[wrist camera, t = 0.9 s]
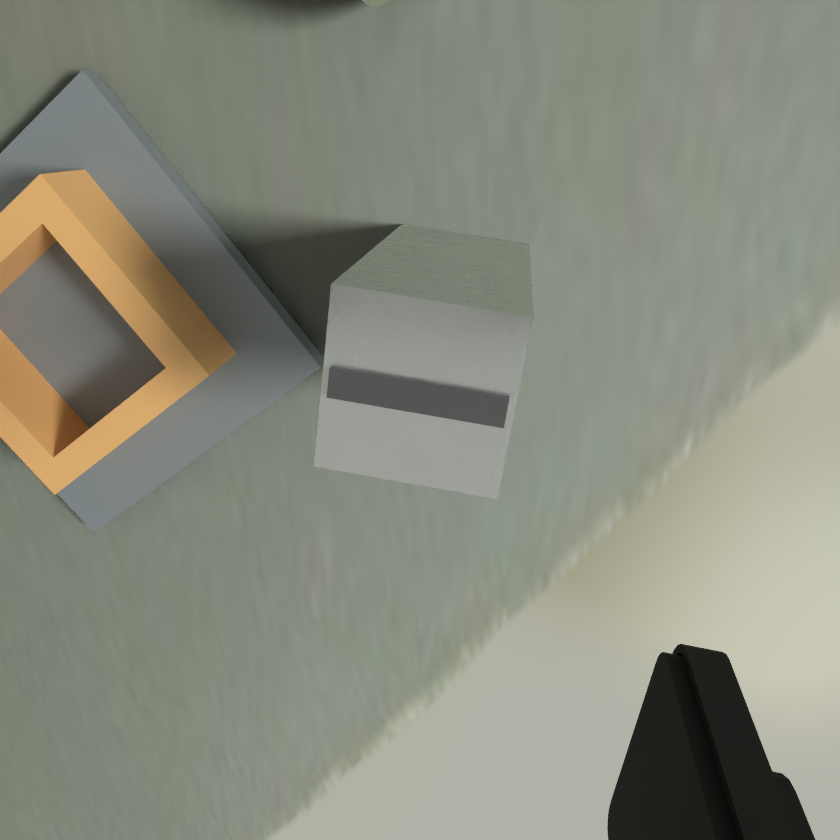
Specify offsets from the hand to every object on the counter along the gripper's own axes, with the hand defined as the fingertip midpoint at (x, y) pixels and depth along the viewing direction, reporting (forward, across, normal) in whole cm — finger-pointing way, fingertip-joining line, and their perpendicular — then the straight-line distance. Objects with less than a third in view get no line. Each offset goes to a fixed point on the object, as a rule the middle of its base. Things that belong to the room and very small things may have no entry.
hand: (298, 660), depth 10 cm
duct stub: (+22, 0, 0) cm, 22 cm away
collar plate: (+22, +14, +4) cm, 27 cm away
